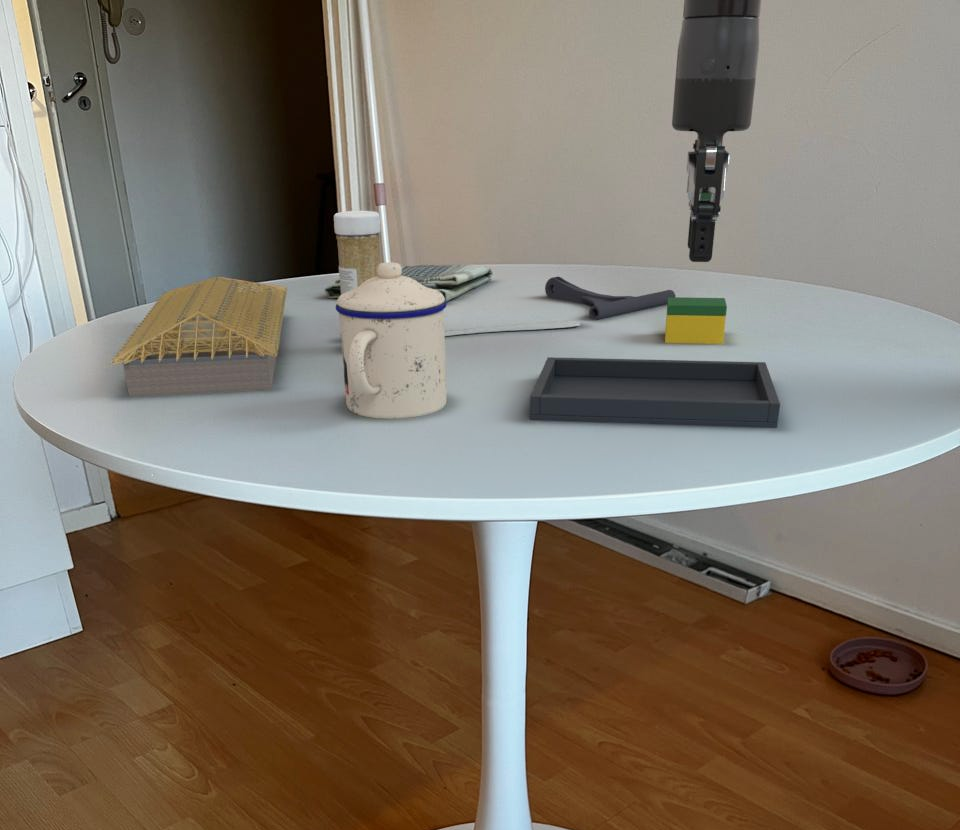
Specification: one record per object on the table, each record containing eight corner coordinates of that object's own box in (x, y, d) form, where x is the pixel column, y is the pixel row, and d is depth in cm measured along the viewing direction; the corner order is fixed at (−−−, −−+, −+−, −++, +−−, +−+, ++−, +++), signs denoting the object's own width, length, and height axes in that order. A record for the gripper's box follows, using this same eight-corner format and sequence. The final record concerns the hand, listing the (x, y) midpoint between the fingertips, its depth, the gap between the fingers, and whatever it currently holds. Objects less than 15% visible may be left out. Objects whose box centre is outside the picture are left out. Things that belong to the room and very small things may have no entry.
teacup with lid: (371, 389, 92) (362, 253, 86) (464, 397, 89) (461, 257, 83) (308, 426, 82) (293, 276, 76) (410, 436, 79) (402, 281, 74)
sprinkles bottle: (391, 353, 104) (383, 213, 98) (348, 356, 103) (337, 215, 97) (383, 343, 108) (374, 208, 102) (341, 347, 107) (330, 210, 101)
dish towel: (378, 277, 147) (376, 254, 145) (495, 282, 142) (494, 258, 140) (321, 300, 131) (319, 274, 130) (450, 306, 126) (450, 279, 125)
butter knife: (584, 324, 112) (576, 317, 115) (342, 343, 107) (339, 335, 110) (584, 329, 112) (576, 322, 115) (343, 348, 108) (340, 340, 110)
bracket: (585, 290, 135) (585, 268, 133) (675, 304, 125) (676, 280, 124) (509, 306, 126) (508, 283, 125) (599, 322, 117) (600, 297, 115)
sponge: (721, 336, 109) (724, 297, 107) (723, 345, 105) (726, 305, 103) (665, 335, 110) (667, 297, 108) (664, 344, 106) (667, 305, 104)
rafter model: (281, 393, 91) (273, 323, 88) (117, 402, 89) (103, 331, 86) (290, 317, 121) (284, 264, 118) (168, 323, 120) (159, 269, 117)
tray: (762, 385, 91) (765, 362, 90) (776, 430, 79) (780, 403, 78) (547, 379, 94) (547, 357, 93) (529, 421, 82) (530, 396, 81)
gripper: (762, 73, 89) (740, 267, 97) (750, 74, 101) (732, 246, 109) (676, 74, 90) (661, 265, 98) (675, 75, 102) (662, 245, 110)
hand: (698, 255), depth 103 cm, fingers open, 8 cm apart
